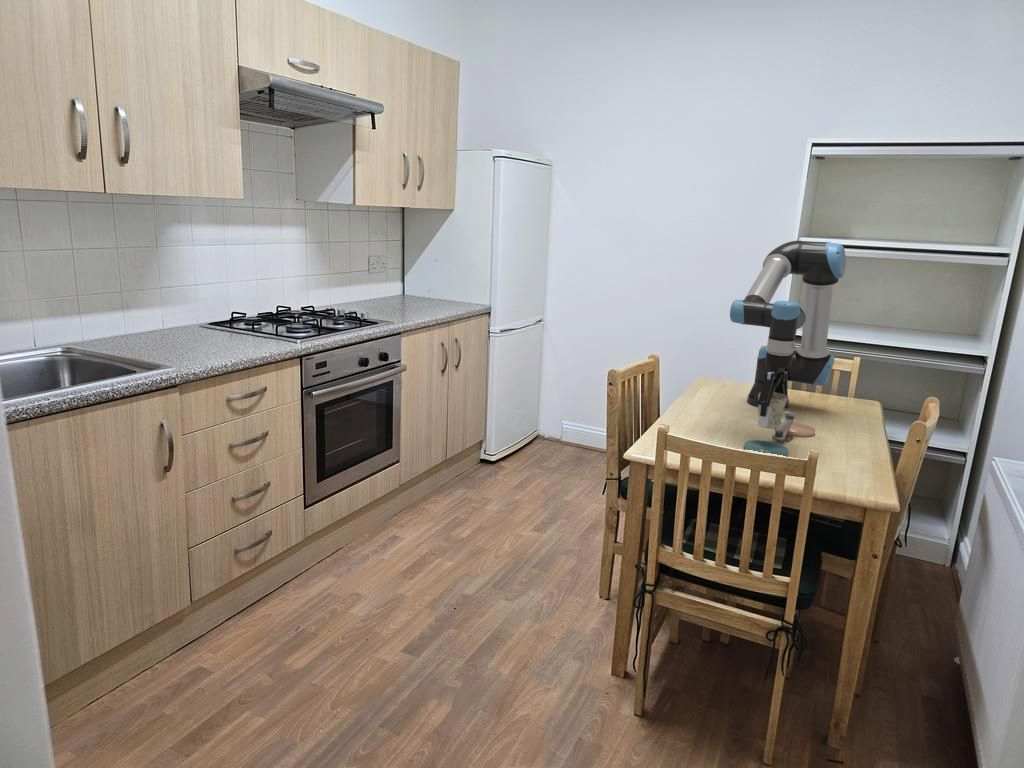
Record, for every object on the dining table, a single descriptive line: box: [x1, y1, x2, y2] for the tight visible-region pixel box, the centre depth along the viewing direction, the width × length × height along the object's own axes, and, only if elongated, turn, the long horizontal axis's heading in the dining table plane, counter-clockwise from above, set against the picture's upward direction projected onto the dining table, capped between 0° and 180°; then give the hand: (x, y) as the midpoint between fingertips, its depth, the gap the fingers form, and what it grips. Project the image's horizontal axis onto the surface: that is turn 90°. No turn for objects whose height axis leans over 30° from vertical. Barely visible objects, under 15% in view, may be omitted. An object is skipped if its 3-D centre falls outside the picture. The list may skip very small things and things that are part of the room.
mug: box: [758, 392, 787, 430], centre depth 212 cm, size 8×13×10 cm, turn 161°
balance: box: [771, 410, 798, 443], centre depth 227 cm, size 5×13×8 cm, turn 141°
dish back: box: [774, 421, 816, 438], centre depth 237 cm, size 13×13×1 cm
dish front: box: [743, 439, 789, 457], centre depth 215 cm, size 13×13×1 cm
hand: (769, 421), depth 213 cm, fingers closed on mug, 12 cm apart
